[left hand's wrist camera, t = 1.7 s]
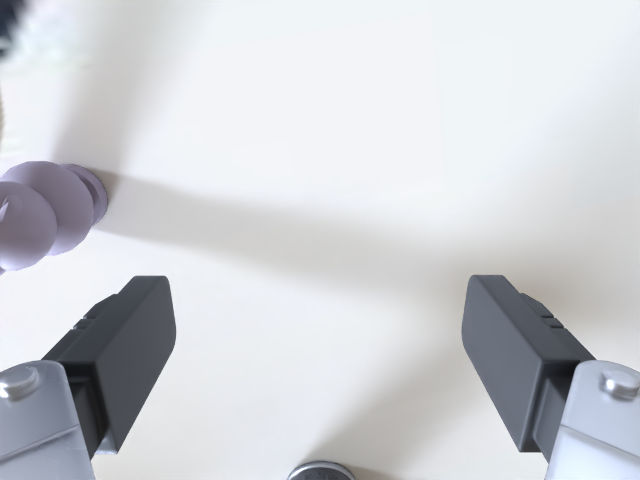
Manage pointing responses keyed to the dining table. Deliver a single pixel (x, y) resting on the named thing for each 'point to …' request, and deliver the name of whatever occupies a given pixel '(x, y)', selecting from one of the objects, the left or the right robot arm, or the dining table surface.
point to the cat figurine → (46, 211)
